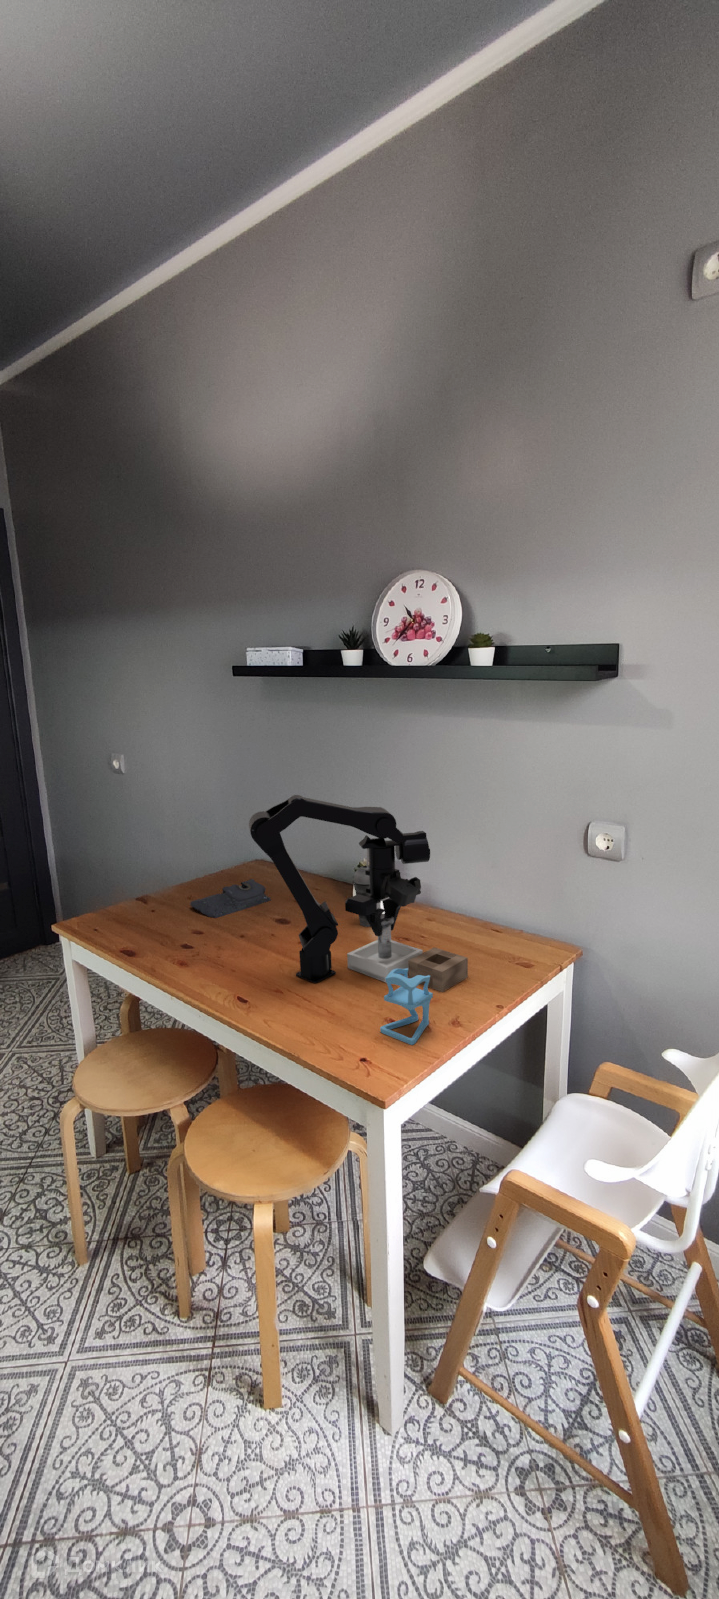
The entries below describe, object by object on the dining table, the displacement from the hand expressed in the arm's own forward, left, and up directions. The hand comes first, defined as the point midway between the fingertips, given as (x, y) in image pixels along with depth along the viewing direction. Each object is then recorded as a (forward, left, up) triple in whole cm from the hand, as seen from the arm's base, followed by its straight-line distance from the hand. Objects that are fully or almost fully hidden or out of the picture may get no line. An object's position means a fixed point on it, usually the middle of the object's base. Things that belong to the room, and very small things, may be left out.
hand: (384, 932), depth 163 cm
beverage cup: (+17, +21, -8) cm, 28 cm away
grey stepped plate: (+4, +63, -9) cm, 64 cm away
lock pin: (0, 0, -6) cm, 6 cm away
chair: (-18, -22, -8) cm, 30 cm away
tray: (0, 0, -8) cm, 8 cm away
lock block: (+3, -13, -8) cm, 15 cm away
